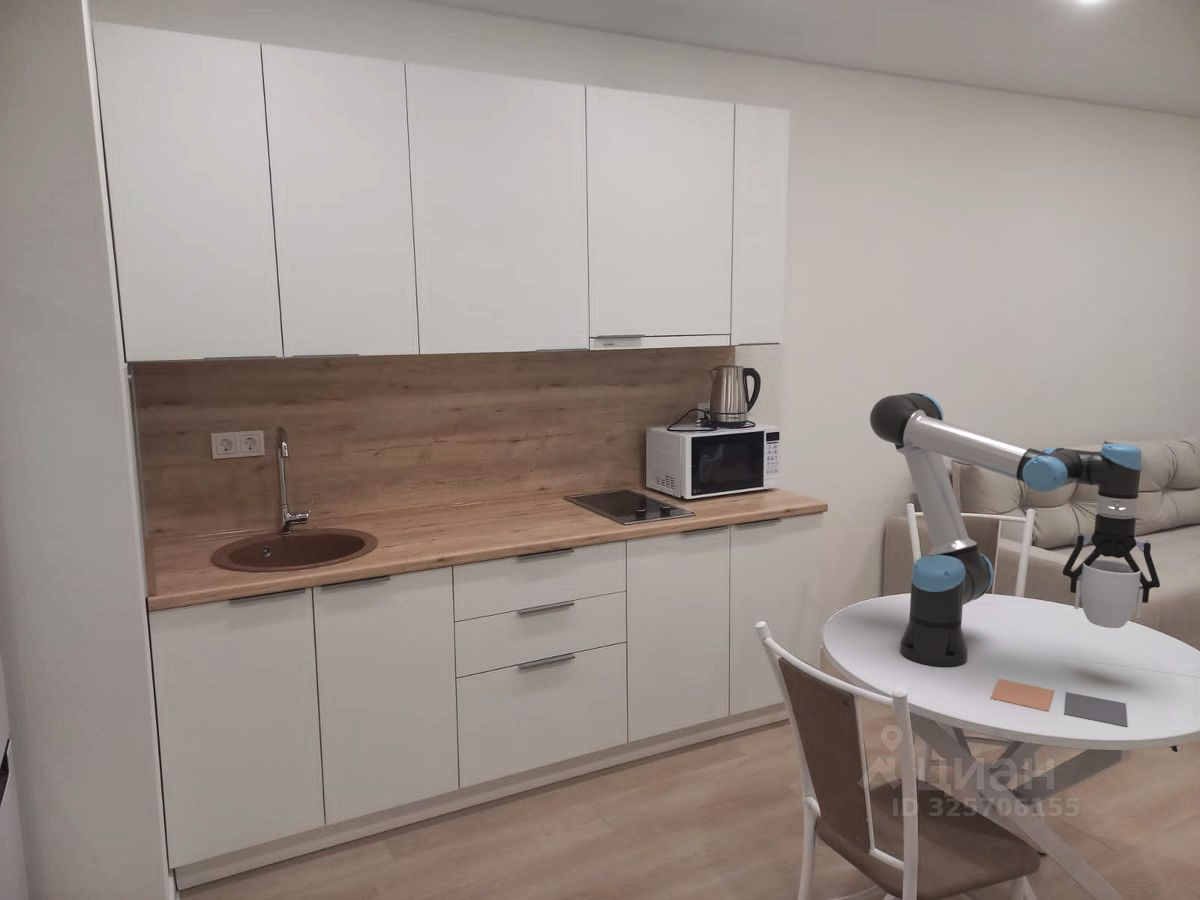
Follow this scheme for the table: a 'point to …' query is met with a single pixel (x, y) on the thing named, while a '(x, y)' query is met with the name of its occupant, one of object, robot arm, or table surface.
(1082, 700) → the charcoal mat
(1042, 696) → the terracotta tile
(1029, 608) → the table surface
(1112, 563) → the mug
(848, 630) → the table surface
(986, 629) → the table surface
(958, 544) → the robot arm
